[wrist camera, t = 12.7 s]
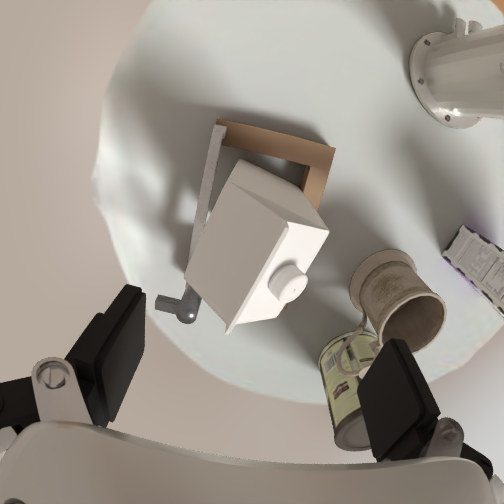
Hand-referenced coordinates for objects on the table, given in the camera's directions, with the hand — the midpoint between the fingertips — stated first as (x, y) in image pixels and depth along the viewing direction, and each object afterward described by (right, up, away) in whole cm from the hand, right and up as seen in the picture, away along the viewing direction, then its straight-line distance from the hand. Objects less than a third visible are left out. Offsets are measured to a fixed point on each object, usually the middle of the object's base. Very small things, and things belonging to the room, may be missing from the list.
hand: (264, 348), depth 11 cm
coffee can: (+14, -12, +31) cm, 36 cm away
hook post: (-7, +1, +23) cm, 24 cm away
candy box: (+32, +2, +25) cm, 41 cm away
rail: (-5, +9, +22) cm, 25 cm away
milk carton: (0, +9, +22) cm, 24 cm away
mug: (+15, -2, +27) cm, 31 cm away
